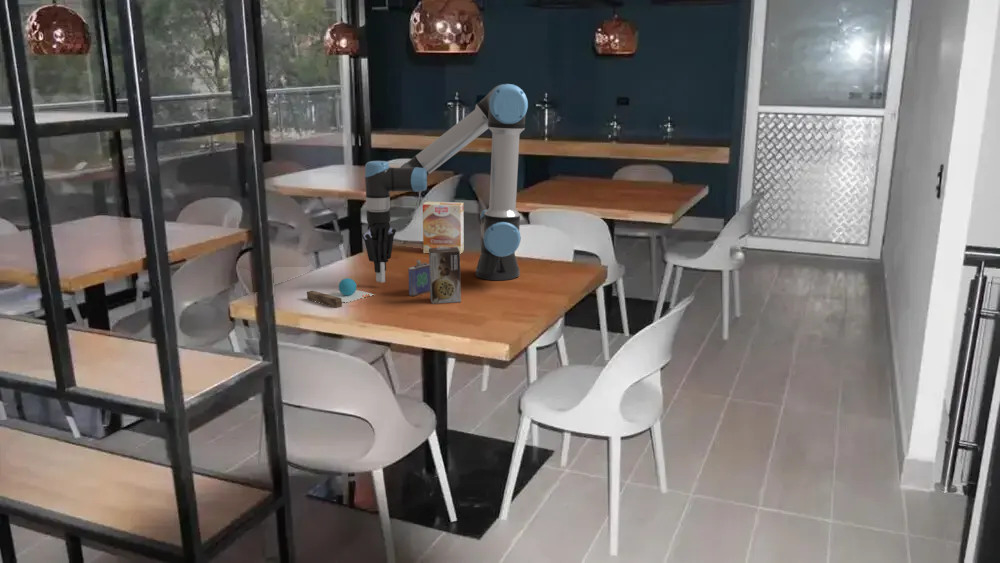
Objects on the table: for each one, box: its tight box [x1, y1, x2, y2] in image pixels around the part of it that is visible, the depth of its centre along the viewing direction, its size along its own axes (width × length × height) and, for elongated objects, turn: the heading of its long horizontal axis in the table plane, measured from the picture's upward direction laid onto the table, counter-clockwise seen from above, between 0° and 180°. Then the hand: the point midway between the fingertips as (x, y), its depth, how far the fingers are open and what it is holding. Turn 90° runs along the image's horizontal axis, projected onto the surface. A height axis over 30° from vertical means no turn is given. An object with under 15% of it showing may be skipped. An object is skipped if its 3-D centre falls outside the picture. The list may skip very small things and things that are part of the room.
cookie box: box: [428, 247, 462, 305], centre depth 249 cm, size 9×6×16 cm
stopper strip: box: [306, 290, 343, 309], centre depth 247 cm, size 14×2×2 cm, turn 50°
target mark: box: [326, 289, 376, 304], centre depth 256 cm, size 12×12×1 cm
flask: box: [408, 259, 430, 297], centre depth 258 cm, size 9×3×11 cm, turn 141°
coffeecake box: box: [422, 201, 465, 254], centre depth 315 cm, size 15×7×20 cm, turn 83°
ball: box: [338, 277, 357, 296], centre depth 255 cm, size 6×6×6 cm
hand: (380, 281), depth 266 cm, fingers closed
